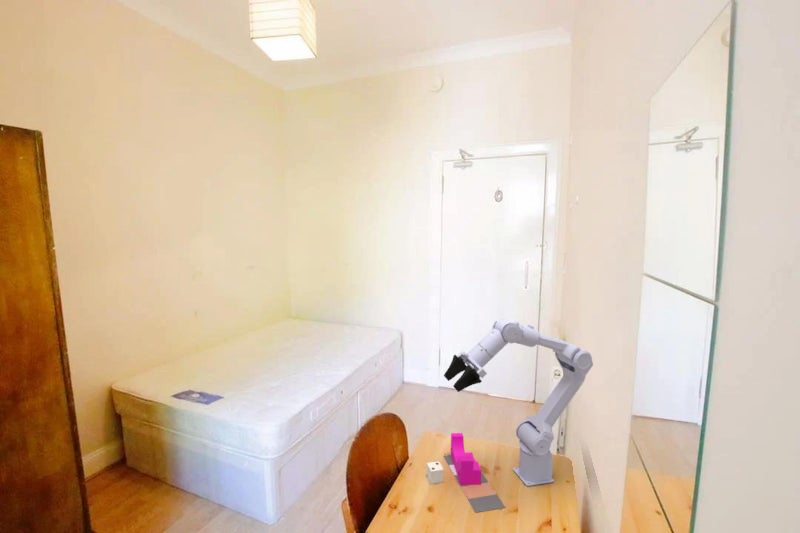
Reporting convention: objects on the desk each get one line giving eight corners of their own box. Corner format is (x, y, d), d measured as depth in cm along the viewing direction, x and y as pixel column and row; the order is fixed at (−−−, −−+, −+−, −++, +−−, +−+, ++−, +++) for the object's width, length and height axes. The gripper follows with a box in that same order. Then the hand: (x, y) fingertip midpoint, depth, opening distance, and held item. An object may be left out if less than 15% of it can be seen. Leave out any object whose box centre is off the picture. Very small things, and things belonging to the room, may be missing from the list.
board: (467, 454, 119) (467, 452, 119) (505, 509, 95) (505, 507, 95) (443, 457, 117) (443, 455, 117) (475, 514, 93) (475, 512, 93)
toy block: (480, 484, 104) (481, 460, 103) (460, 484, 103) (461, 461, 103) (468, 453, 119) (469, 433, 118) (450, 454, 118) (451, 433, 118)
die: (438, 473, 108) (439, 461, 108) (443, 482, 105) (443, 469, 104) (426, 475, 108) (427, 462, 107) (430, 483, 104) (431, 471, 103)
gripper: (466, 334, 107) (434, 364, 106) (488, 349, 93) (451, 384, 92) (479, 350, 109) (447, 380, 107) (502, 367, 95) (467, 402, 93)
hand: (450, 383), depth 99 cm, fingers open, 7 cm apart
